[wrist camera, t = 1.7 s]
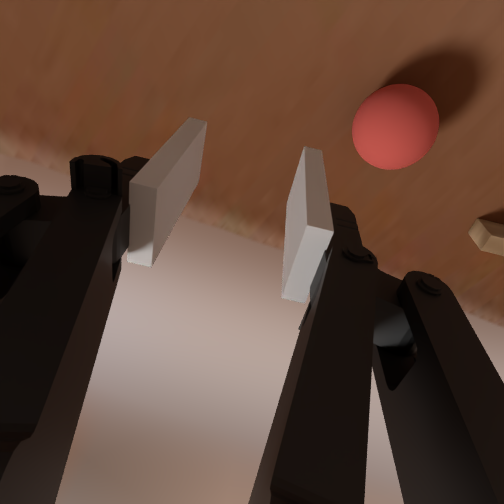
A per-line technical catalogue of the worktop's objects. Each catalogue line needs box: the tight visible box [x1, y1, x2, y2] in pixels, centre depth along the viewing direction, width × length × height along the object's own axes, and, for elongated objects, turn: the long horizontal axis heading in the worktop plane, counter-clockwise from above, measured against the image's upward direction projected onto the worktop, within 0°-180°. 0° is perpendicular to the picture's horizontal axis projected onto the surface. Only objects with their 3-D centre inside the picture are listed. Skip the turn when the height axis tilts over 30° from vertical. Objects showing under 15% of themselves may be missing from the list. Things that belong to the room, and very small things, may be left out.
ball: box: [352, 84, 439, 170], centre depth 28 cm, size 6×6×6 cm
